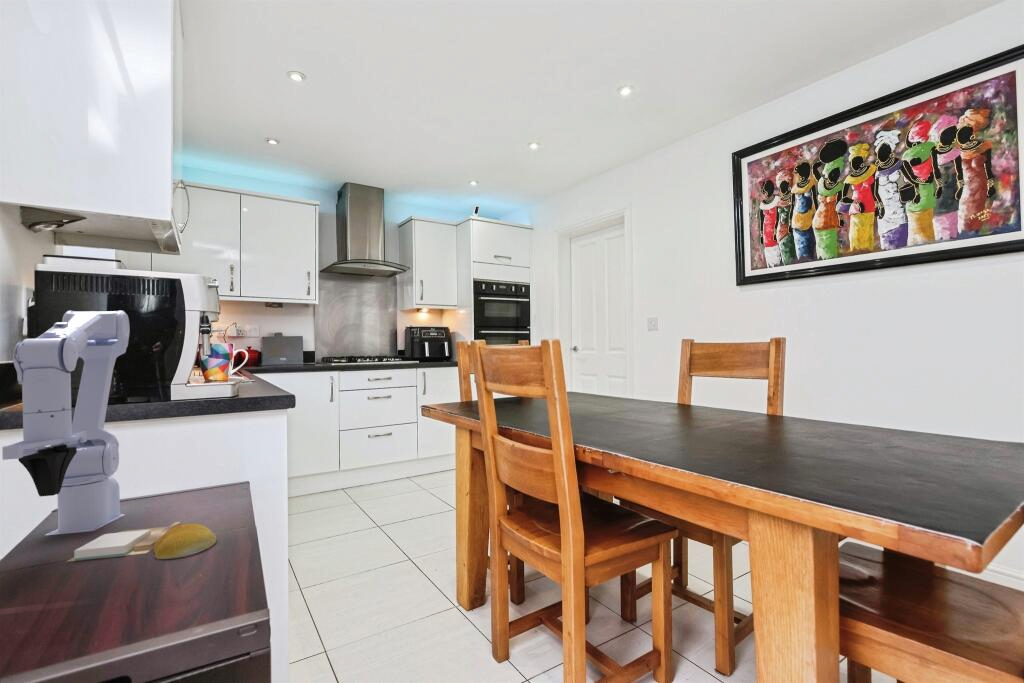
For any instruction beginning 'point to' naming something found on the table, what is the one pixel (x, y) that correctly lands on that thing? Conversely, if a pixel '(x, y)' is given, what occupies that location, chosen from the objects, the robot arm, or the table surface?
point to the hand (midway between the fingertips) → (49, 494)
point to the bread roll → (184, 541)
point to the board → (153, 530)
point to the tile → (111, 545)
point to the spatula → (153, 538)
